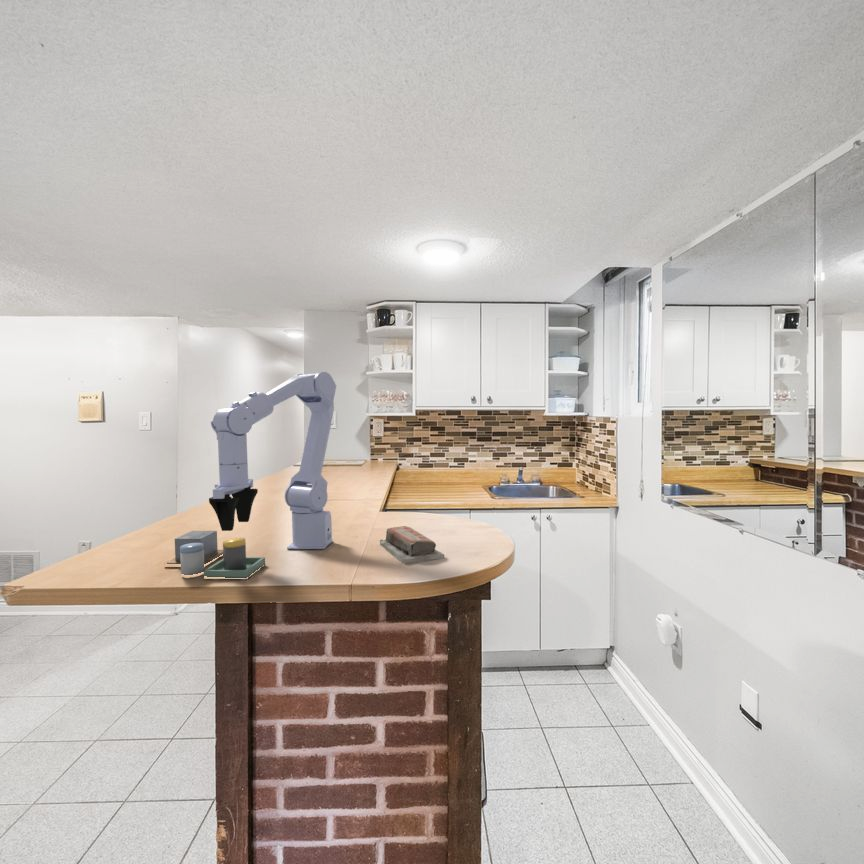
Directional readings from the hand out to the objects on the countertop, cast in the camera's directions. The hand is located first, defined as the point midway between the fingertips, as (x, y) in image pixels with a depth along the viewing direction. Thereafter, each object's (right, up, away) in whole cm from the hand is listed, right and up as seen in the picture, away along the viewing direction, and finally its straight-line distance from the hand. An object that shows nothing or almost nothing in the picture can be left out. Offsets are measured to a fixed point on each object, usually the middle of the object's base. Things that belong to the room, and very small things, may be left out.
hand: (235, 525), depth 101 cm
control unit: (-12, -9, +7) cm, 16 cm away
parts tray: (+1, -9, -2) cm, 10 cm away
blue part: (-8, -10, -3) cm, 13 cm away
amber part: (+1, -9, -2) cm, 9 cm away
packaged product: (+37, -9, +11) cm, 40 cm away
